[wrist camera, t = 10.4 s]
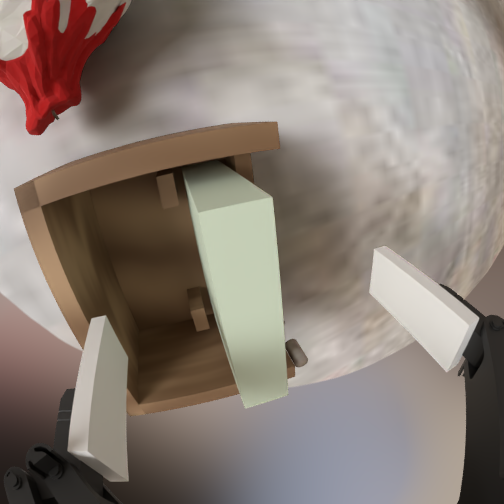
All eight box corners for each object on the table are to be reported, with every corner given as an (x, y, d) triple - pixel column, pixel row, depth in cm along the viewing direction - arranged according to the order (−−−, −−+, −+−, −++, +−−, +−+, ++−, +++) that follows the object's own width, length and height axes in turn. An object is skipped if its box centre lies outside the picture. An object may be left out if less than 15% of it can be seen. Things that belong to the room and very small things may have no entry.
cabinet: (71, 161, 17) (13, 188, 9) (247, 121, 19) (302, 119, 12) (132, 336, 24) (130, 416, 16) (269, 302, 27) (310, 370, 19)
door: (239, 292, 24) (288, 394, 14) (210, 300, 24) (244, 408, 14) (217, 160, 19) (272, 197, 10) (181, 167, 19) (198, 212, 9)
